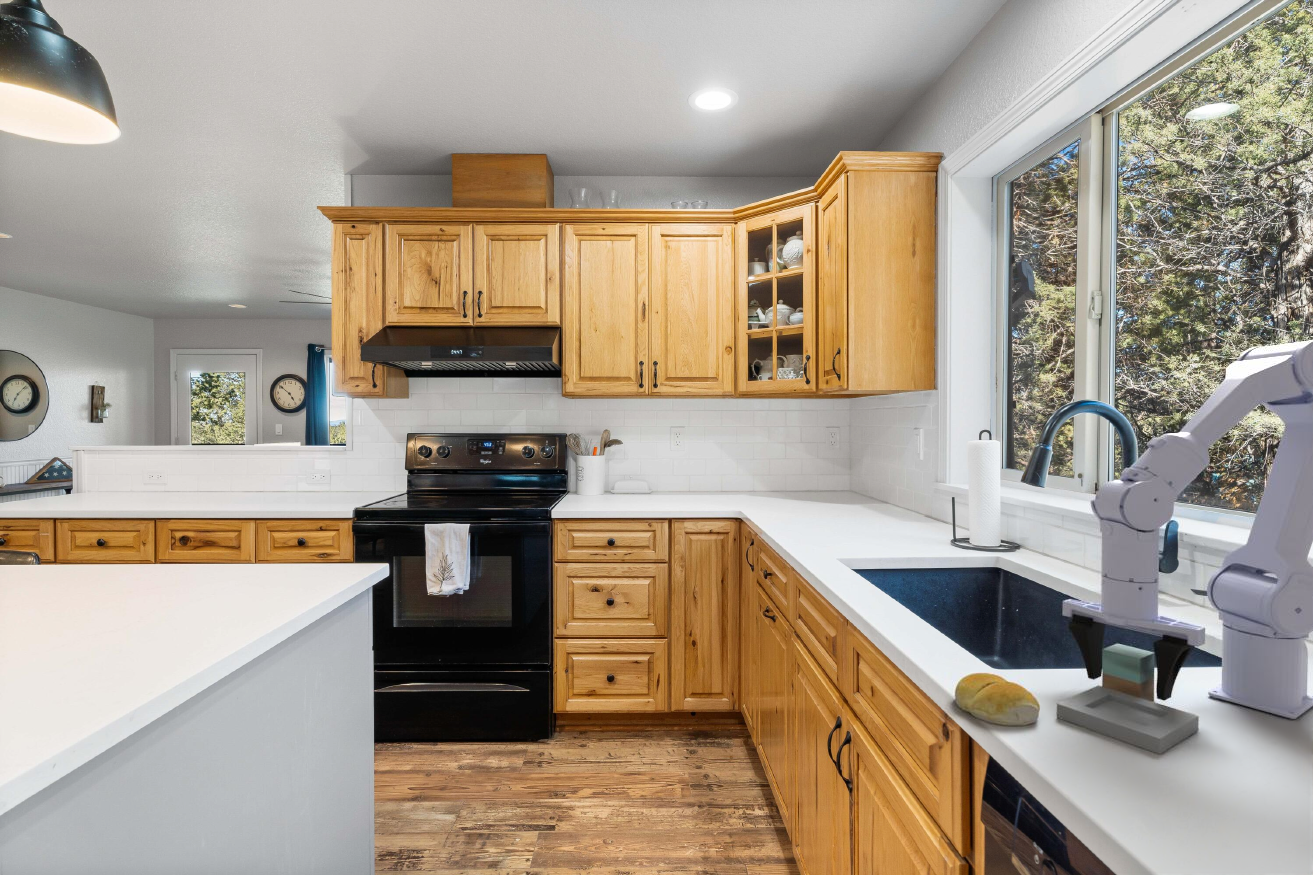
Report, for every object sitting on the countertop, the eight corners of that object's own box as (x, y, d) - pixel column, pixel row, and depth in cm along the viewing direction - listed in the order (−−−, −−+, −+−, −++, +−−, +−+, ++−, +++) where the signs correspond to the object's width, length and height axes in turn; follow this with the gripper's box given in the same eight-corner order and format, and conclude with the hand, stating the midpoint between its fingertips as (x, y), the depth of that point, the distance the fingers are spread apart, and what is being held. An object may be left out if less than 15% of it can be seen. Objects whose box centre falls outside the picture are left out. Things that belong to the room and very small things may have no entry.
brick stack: (1116, 689, 83) (1117, 643, 83) (1153, 701, 79) (1154, 652, 79) (1102, 696, 81) (1102, 648, 81) (1139, 708, 77) (1140, 658, 77)
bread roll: (994, 692, 82) (995, 661, 82) (1052, 724, 74) (1053, 689, 74) (938, 698, 80) (938, 666, 80) (990, 731, 72) (991, 695, 72)
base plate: (1098, 697, 80) (1098, 685, 80) (1198, 729, 72) (1198, 715, 72) (1056, 717, 75) (1056, 703, 75) (1159, 754, 66) (1159, 738, 66)
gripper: (1050, 570, 84) (1049, 674, 84) (1188, 595, 72) (1186, 716, 72) (1078, 564, 88) (1076, 664, 88) (1213, 586, 75) (1211, 702, 76)
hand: (1127, 687), depth 80 cm, fingers open, 7 cm apart
